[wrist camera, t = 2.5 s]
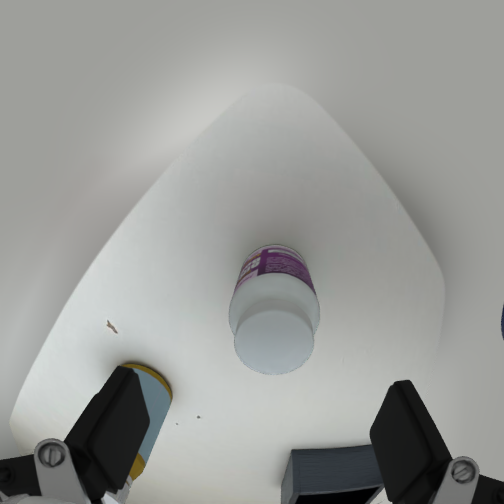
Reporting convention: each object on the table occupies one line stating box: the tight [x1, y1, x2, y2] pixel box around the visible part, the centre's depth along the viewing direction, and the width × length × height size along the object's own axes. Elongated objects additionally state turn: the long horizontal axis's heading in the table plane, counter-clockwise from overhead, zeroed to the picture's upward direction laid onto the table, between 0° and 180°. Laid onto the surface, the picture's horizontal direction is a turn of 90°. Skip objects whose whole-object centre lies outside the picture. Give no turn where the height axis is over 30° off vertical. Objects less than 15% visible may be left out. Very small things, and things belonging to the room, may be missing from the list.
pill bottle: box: [229, 245, 320, 375], centre depth 18 cm, size 5×5×10 cm
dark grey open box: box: [281, 445, 384, 504], centre depth 27 cm, size 12×12×7 cm
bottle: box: [103, 364, 172, 504], centre depth 20 cm, size 7×7×15 cm
